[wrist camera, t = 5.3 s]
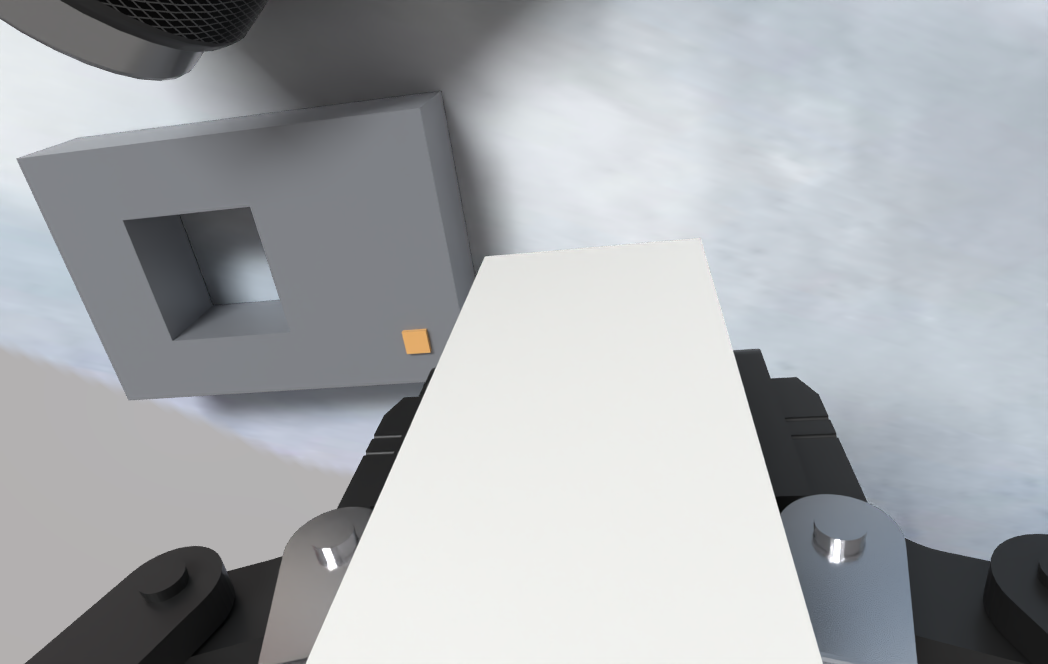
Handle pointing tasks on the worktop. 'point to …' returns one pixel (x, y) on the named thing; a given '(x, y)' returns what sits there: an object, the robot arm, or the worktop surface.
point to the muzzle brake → (134, 31)
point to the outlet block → (267, 246)
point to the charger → (578, 484)
